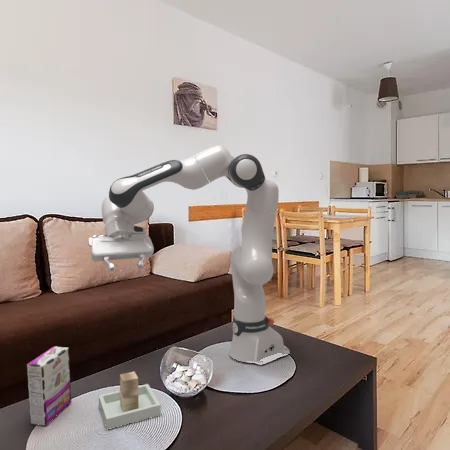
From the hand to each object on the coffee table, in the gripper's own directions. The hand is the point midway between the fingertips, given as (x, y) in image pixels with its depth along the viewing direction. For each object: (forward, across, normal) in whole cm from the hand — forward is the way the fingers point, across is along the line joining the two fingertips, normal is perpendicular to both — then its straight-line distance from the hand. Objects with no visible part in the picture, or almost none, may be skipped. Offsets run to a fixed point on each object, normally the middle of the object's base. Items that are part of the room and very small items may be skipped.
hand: (126, 268), depth 123 cm
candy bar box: (+35, -24, +14) cm, 45 cm away
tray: (+40, -5, +8) cm, 41 cm away
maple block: (+40, -5, +8) cm, 41 cm away
